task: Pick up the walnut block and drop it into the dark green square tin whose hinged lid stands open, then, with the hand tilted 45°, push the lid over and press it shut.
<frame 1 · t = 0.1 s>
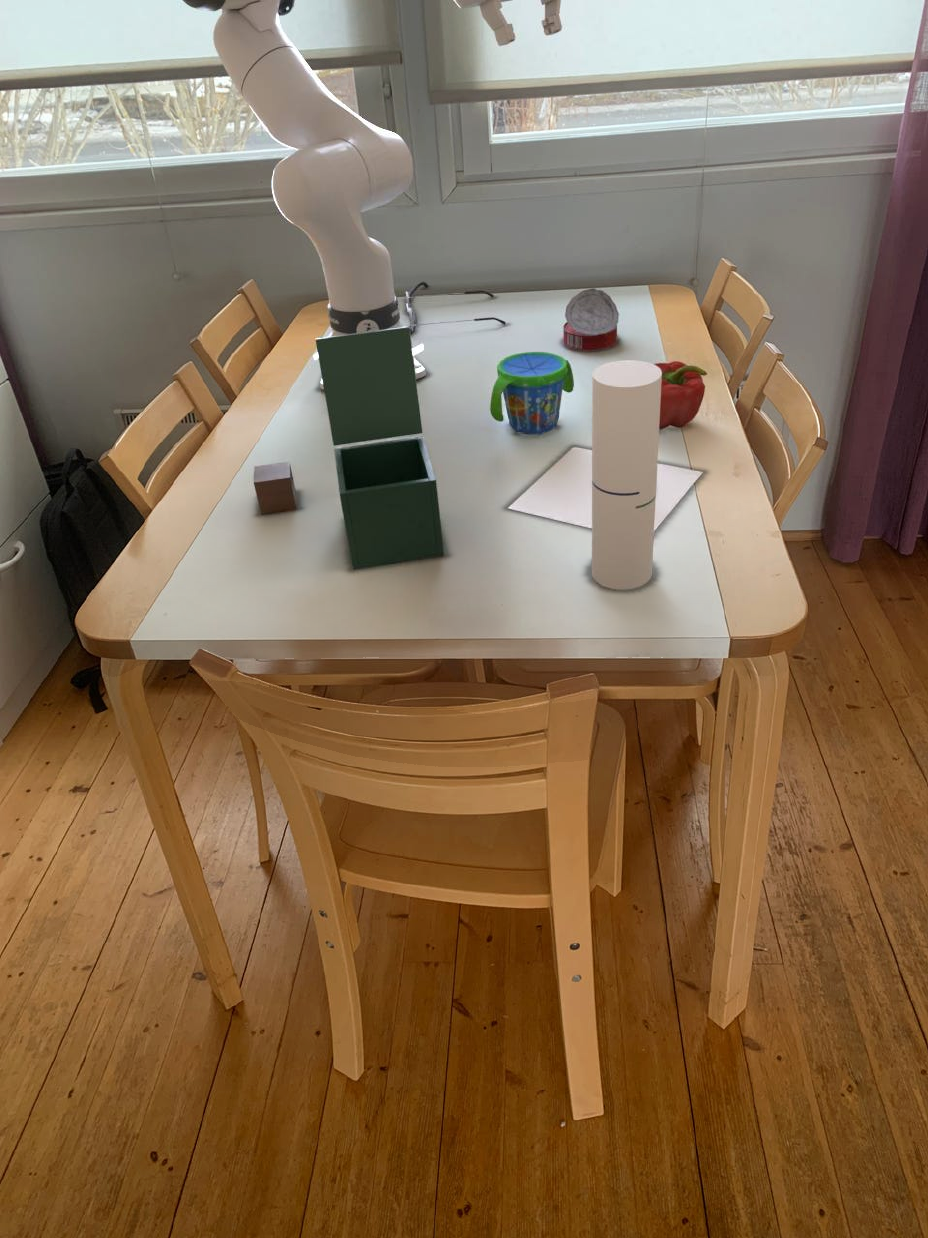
hand: (531, 38, 115), 52 cm above the table, tool tilted 20°, fingers open, 8 cm apart
tin: (393, 537, 123), on the table
cylindrical container: (621, 574, 112), on the table
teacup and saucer: (606, 491, 129), on the table
block: (278, 503, 133), on the table
snack cup: (534, 427, 147), on the table
tin lid: (370, 387, 118), point 18 cm above the table, hinge at 100.0°
vegetable: (669, 425, 144), on the table
canned food: (590, 342, 174), on the table
eyeglasses: (454, 316, 191), on the table
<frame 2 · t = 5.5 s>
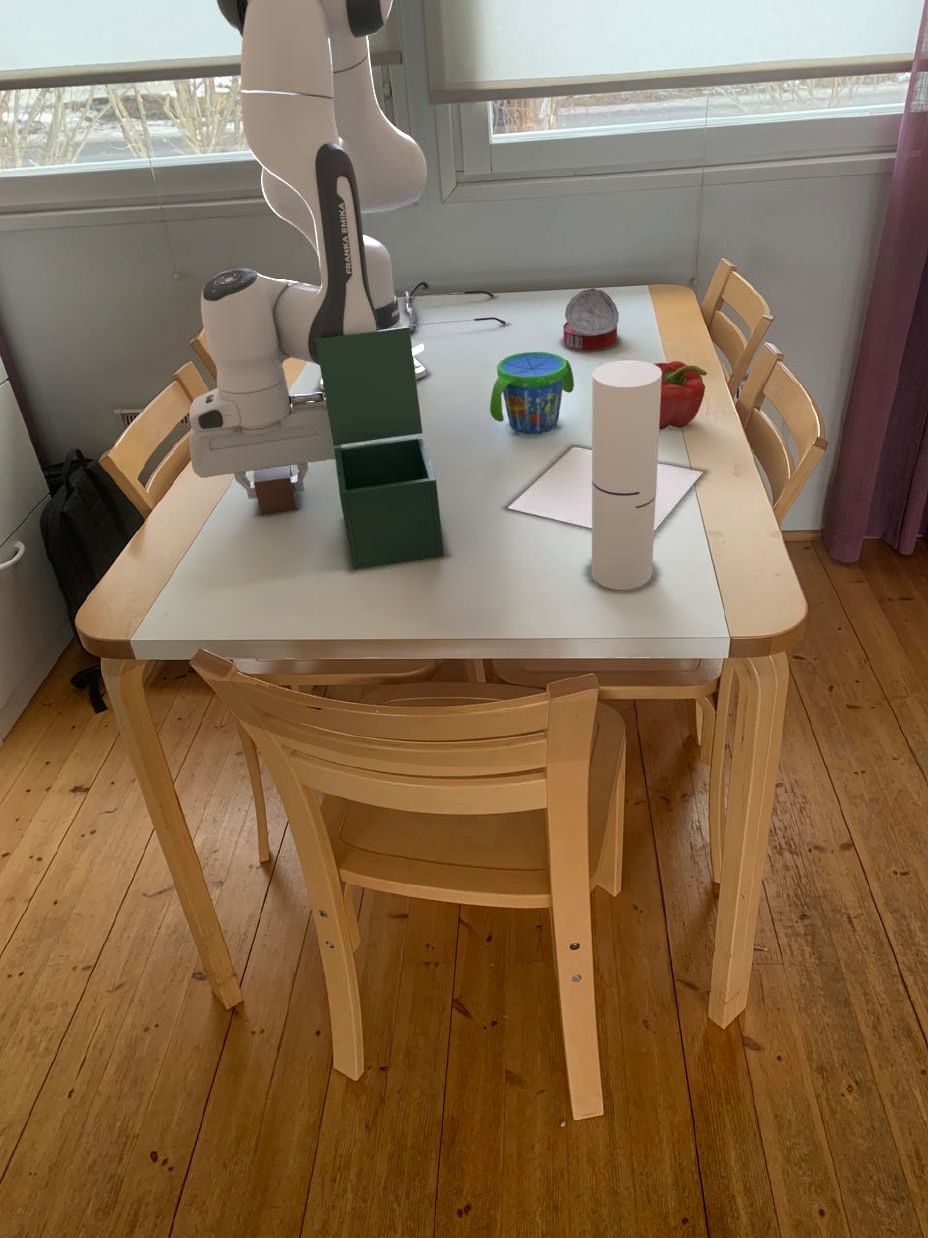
hand: (276, 493, 132), 2 cm above the table, tool pointing down, fingers closed on block, 5 cm apart
block: (278, 503, 133), on the table, touching gripper
tin lid: (370, 387, 118), point 18 cm above the table, hinge at 99.5°
everything else where it was.
when the fingers open (12 cm above the table, at t = 13.1 s): block drops 9 cm, resting on tin.
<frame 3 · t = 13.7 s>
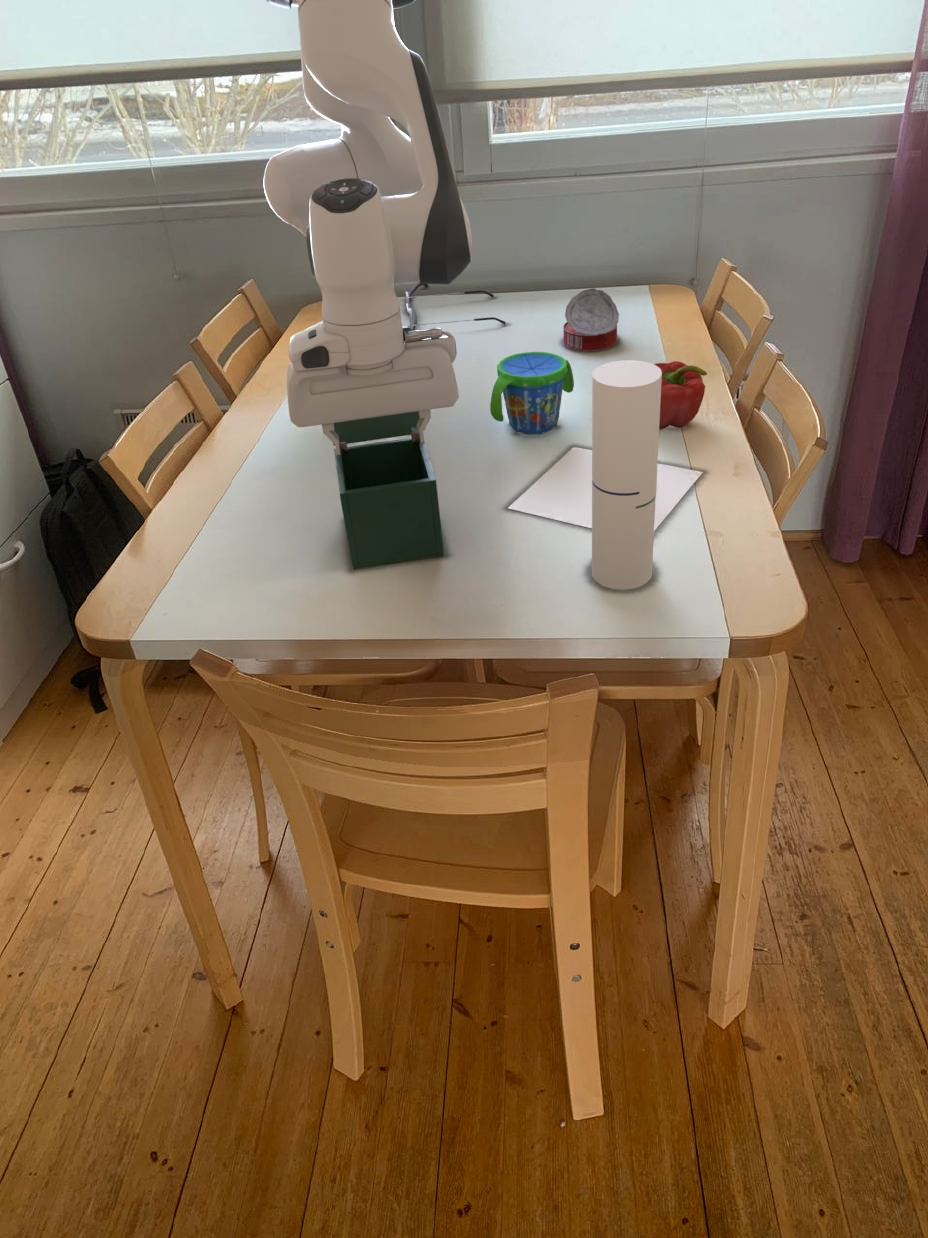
hand: (380, 447, 115), 13 cm above the table, tool pointing down, fingers open, 8 cm apart
block: (392, 532, 122), point 1 cm above the table, touching tin
everything else where it was.
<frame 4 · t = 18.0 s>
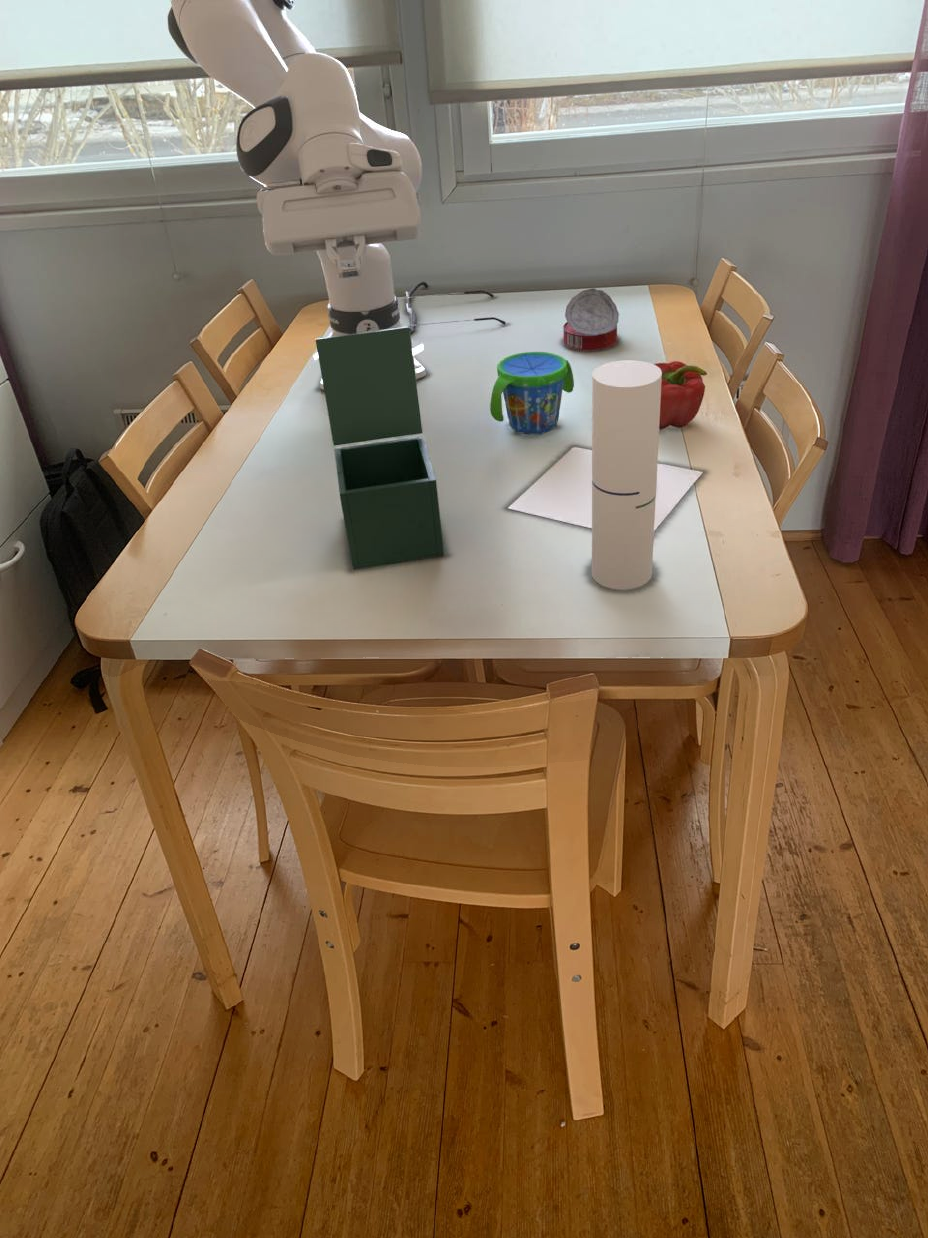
hand: (350, 274, 119), 29 cm above the table, tool tilted 45°, fingers closed
nothing on the table moved.
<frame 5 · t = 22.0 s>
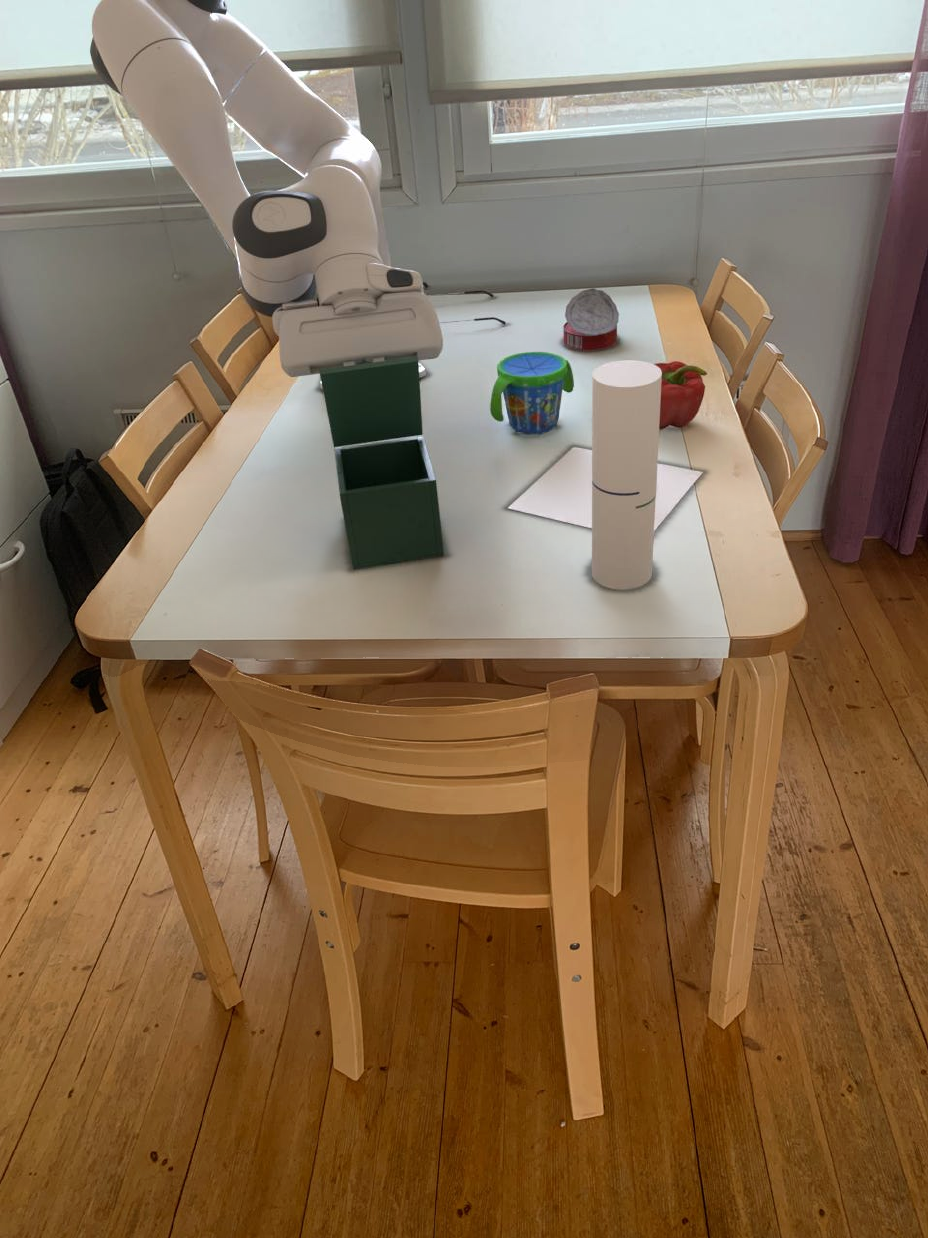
hand: (369, 398, 115), 18 cm above the table, tool tilted 45°, fingers closed
tin lid: (373, 403, 115), point 17 cm above the table, hinge at 64.3°, touching gripper
everything else where it was.
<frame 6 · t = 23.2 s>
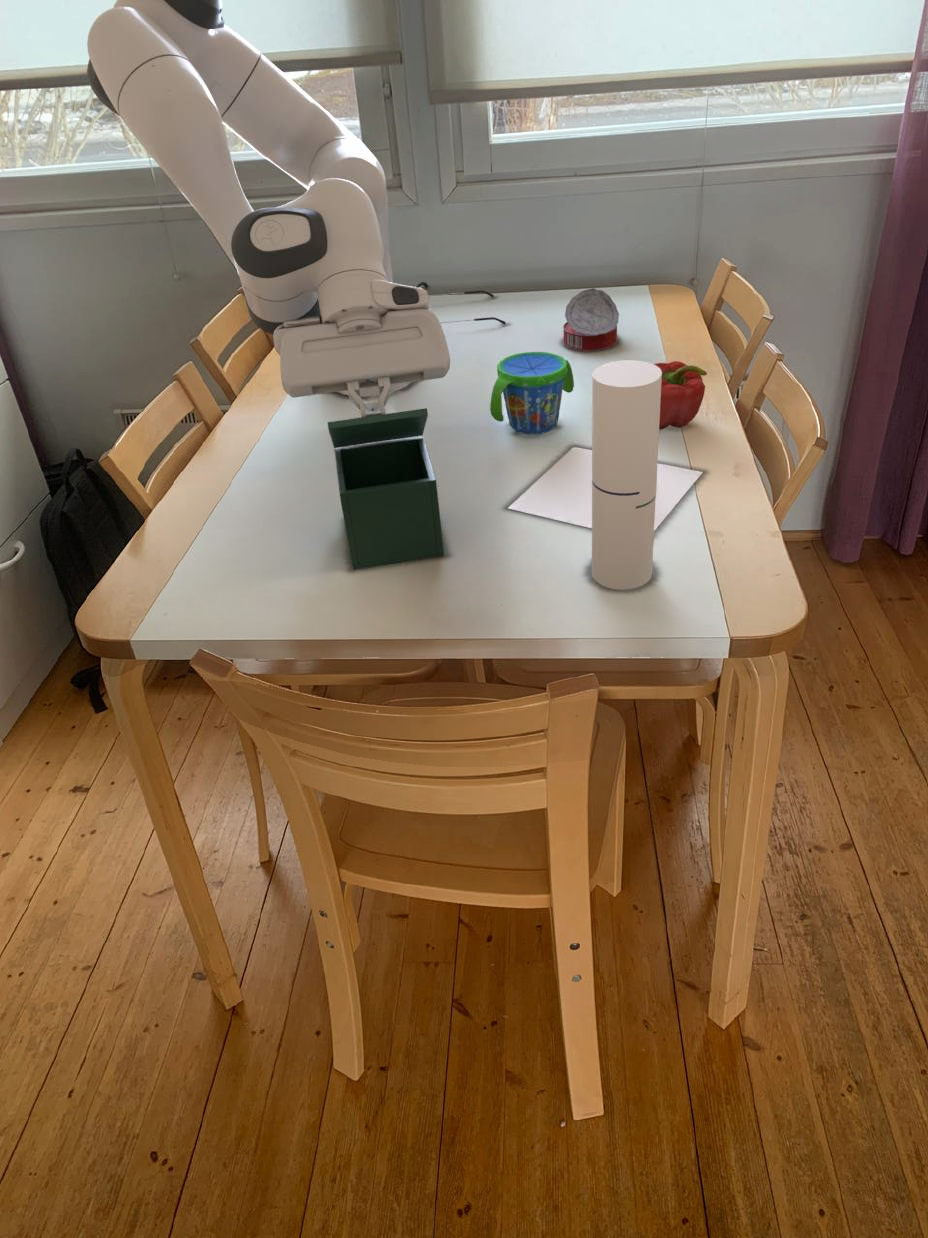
hand: (374, 419, 111), 17 cm above the table, tool tilted 45°, fingers closed
tin lid: (378, 429, 115), point 15 cm above the table, hinge at 34.8°, touching gripper
everything else where it was.
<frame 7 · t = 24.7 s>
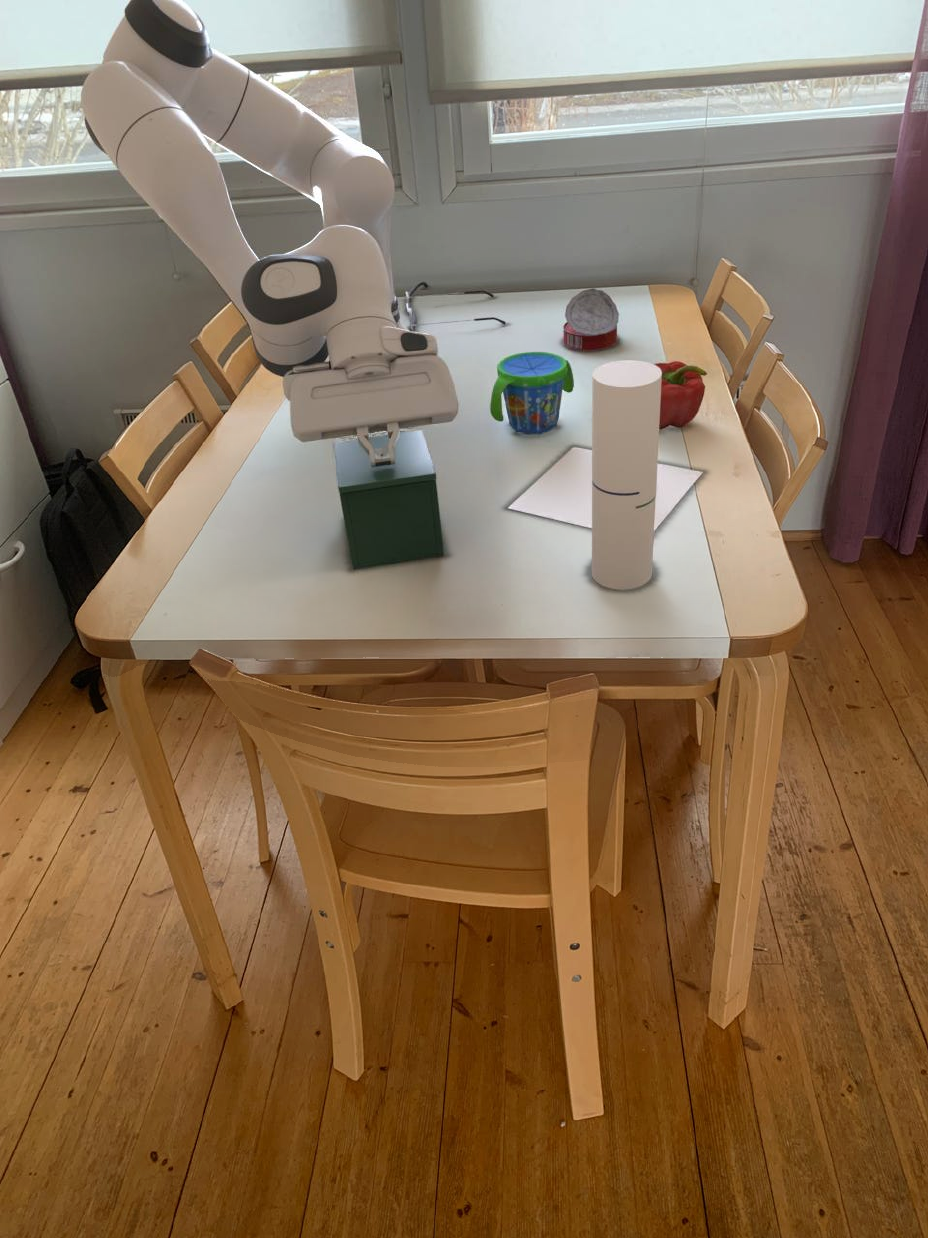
hand: (383, 464, 112), 13 cm above the table, tool tilted 45°, fingers closed, pressing on tin lid
tin lid: (382, 460, 116), point 11 cm above the table, hinge at 1.9°, touching gripper
everything else where it was.
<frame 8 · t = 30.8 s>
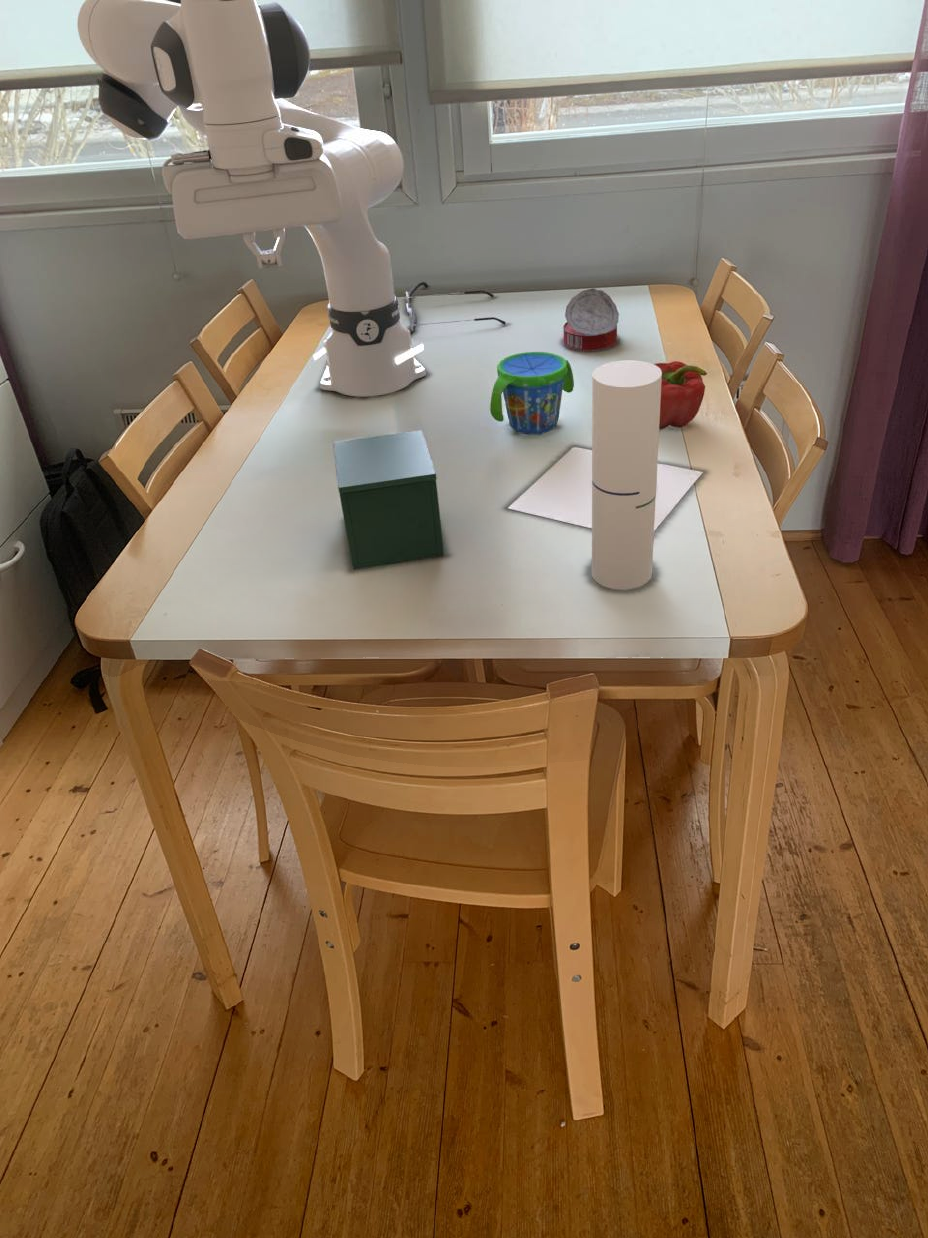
hand: (270, 266, 118), 31 cm above the table, tool pointing down, fingers closed
tin lid: (382, 460, 116), point 11 cm above the table, hinge at 1.7°
everything else where it was.
at the end: block inside the target area in the tin (0.0 cm from its centre), point 0.8 cm above the tin's base; tin lid at +2° (first picture: +100°) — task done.
